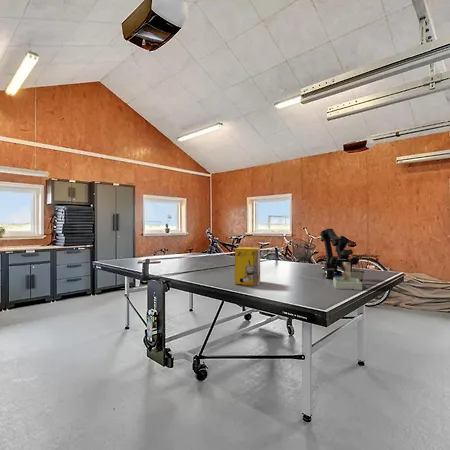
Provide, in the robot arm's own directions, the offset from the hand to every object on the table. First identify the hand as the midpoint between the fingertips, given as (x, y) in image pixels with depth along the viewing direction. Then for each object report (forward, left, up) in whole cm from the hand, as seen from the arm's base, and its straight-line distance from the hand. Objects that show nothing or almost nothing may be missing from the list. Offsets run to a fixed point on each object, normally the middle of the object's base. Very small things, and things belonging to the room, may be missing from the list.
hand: (347, 270), depth 199 cm
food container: (-16, +7, -11) cm, 21 cm away
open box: (-1, 0, -11) cm, 11 cm away
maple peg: (-1, 0, -7) cm, 7 cm away
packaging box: (+3, -67, -11) cm, 68 cm away
